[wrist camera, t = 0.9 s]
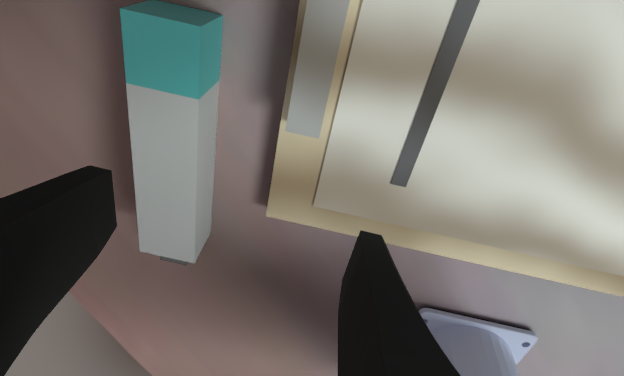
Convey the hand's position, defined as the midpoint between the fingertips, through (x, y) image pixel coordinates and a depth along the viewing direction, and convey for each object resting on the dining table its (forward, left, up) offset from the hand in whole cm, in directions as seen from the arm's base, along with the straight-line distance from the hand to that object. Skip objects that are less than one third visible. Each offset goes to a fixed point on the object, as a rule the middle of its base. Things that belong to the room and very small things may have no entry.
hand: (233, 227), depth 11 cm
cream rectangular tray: (+3, -12, -10) cm, 15 cm away
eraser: (-4, +5, -10) cm, 12 cm away
